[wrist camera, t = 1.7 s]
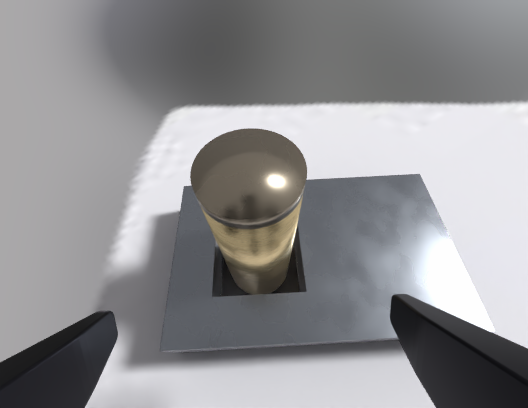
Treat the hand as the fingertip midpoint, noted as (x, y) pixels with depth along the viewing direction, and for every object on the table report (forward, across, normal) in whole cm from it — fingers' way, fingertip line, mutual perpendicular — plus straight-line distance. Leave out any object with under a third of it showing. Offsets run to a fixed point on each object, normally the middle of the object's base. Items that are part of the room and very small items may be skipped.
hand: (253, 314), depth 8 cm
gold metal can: (+12, 0, +4) cm, 13 cm away
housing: (+12, -4, +4) cm, 14 cm away
